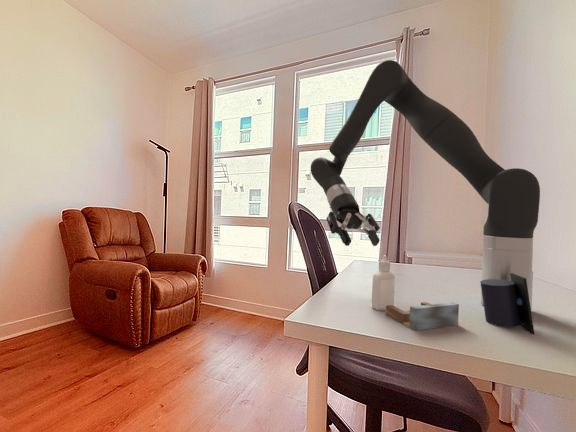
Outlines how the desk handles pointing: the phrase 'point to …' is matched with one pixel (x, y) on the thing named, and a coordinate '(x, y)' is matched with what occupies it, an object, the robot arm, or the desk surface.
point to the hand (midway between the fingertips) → (363, 243)
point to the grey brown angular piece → (425, 315)
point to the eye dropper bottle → (383, 286)
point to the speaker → (507, 302)
